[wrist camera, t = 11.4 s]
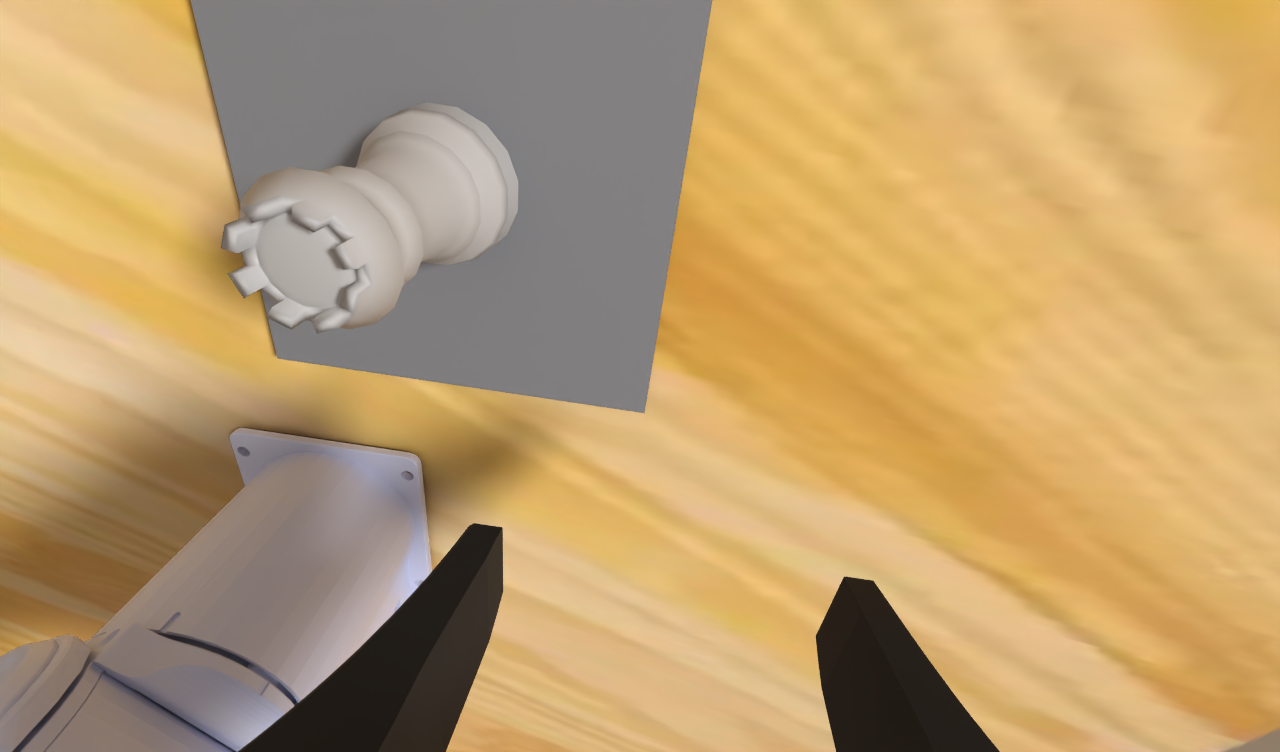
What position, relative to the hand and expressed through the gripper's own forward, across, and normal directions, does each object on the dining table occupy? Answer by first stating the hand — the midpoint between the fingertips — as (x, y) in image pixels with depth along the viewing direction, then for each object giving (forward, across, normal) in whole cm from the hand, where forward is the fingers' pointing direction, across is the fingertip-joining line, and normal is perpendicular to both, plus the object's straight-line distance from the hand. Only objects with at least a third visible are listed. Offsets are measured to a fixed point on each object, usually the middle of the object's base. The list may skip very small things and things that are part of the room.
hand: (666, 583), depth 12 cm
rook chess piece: (+10, +8, -5) cm, 13 cm away
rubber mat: (+10, +8, -5) cm, 14 cm away
